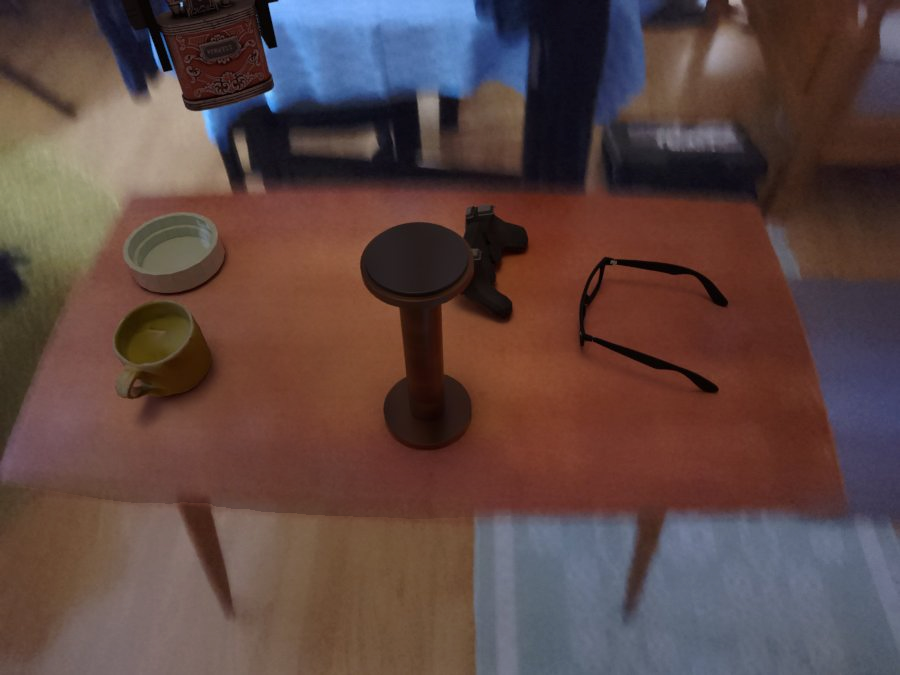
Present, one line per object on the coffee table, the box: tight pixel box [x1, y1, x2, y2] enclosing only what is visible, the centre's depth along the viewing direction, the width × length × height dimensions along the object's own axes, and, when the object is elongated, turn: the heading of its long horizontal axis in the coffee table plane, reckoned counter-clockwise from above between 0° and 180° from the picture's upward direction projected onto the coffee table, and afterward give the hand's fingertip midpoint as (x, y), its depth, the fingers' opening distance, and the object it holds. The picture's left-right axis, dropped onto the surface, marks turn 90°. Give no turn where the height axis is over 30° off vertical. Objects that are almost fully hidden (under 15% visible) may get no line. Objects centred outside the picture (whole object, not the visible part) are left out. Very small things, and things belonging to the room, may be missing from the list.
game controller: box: [459, 204, 529, 320], centre depth 90 cm, size 16×7×10 cm, turn 167°
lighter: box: [155, 0, 275, 112], centre depth 57 cm, size 8×3×10 cm, turn 119°
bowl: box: [122, 211, 226, 294], centre depth 93 cm, size 12×12×4 cm
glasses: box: [578, 256, 729, 394], centre depth 84 cm, size 17×18×5 cm
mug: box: [111, 298, 212, 400], centre depth 79 cm, size 12×10×10 cm
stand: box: [359, 221, 474, 451], centre depth 69 cm, size 10×10×24 cm
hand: (218, 52), depth 58 cm, fingers closed on lighter, 8 cm apart
